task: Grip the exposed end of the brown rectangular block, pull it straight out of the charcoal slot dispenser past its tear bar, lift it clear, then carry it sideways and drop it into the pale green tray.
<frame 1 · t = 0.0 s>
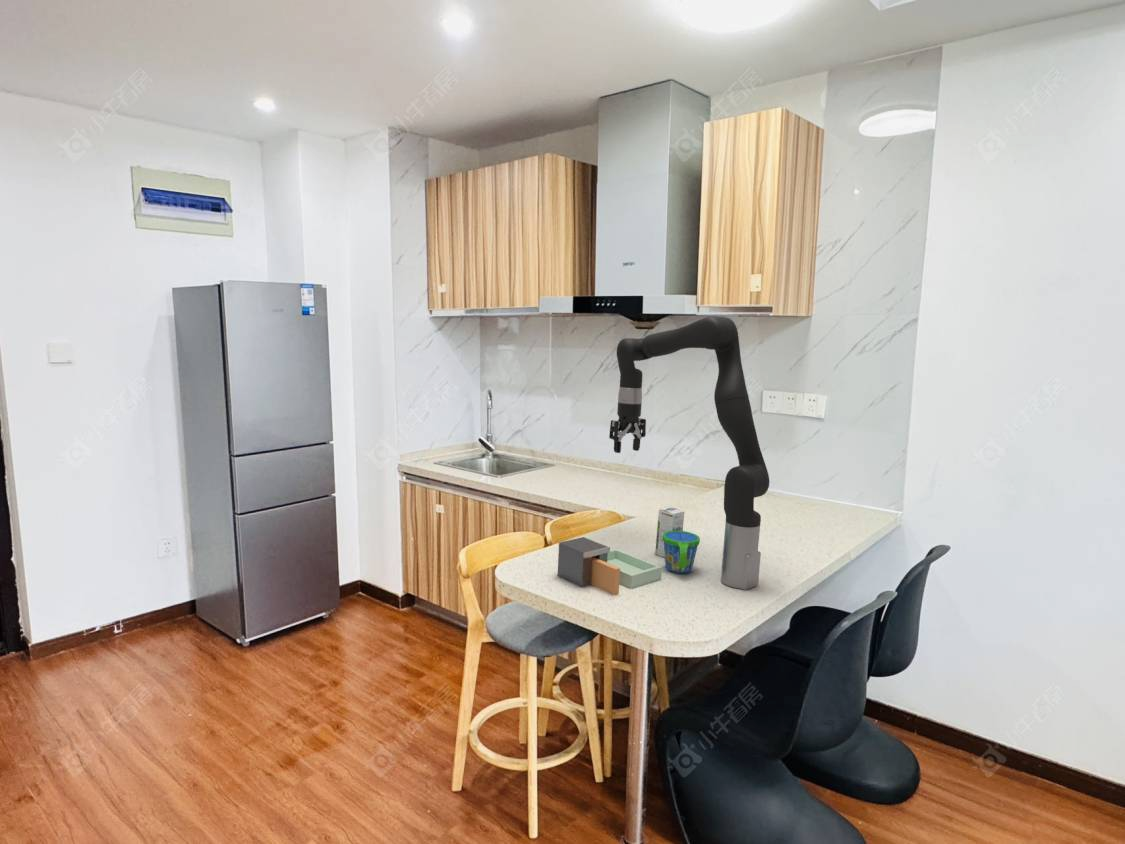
hand: (626, 451, 215), 29 cm above the worktop, fingers open, 8 cm apart
brown rectangular block: (603, 588, 177), on the worktop
dispenser: (581, 577, 183), on the worktop
tray: (622, 573, 188), on the worktop
syrup box: (668, 555, 205), on the worktop
snack cup: (678, 570, 193), on the worktop
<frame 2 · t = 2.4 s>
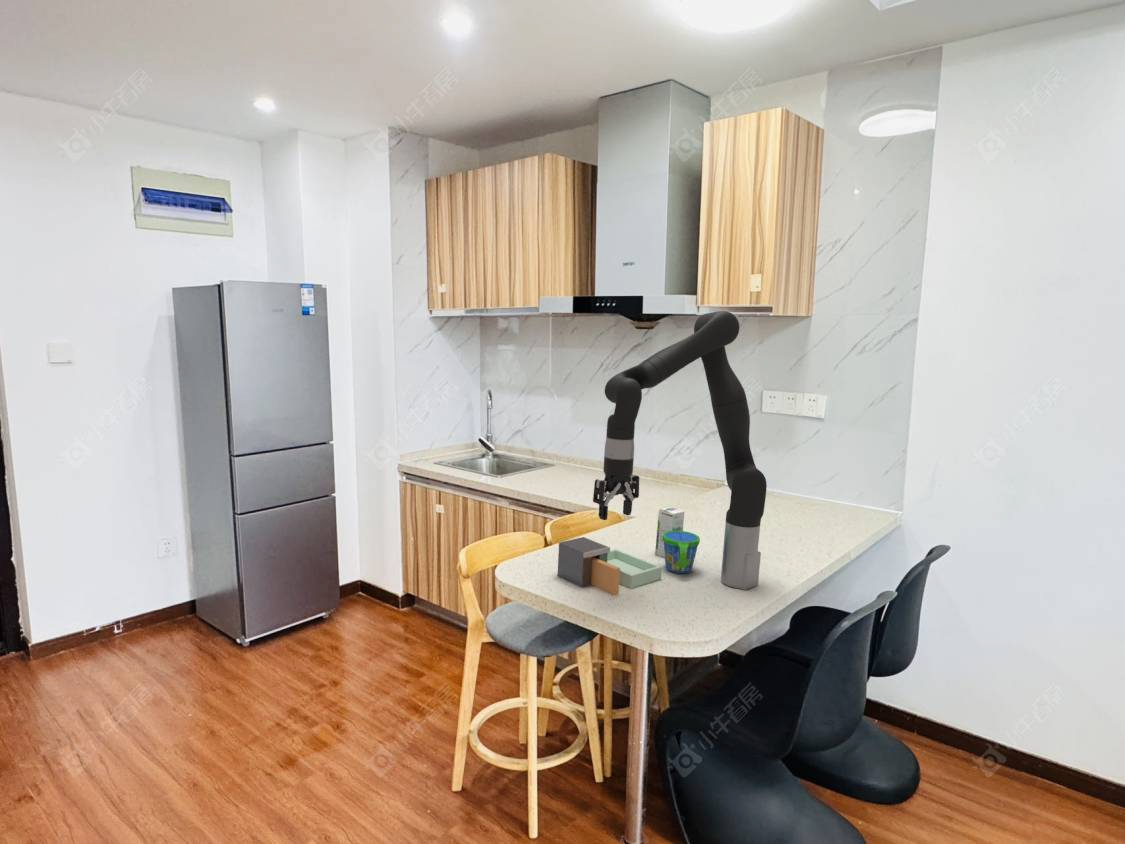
hand: (615, 516, 172), 20 cm above the worktop, fingers open, 8 cm apart
nothing on the worktop moved.
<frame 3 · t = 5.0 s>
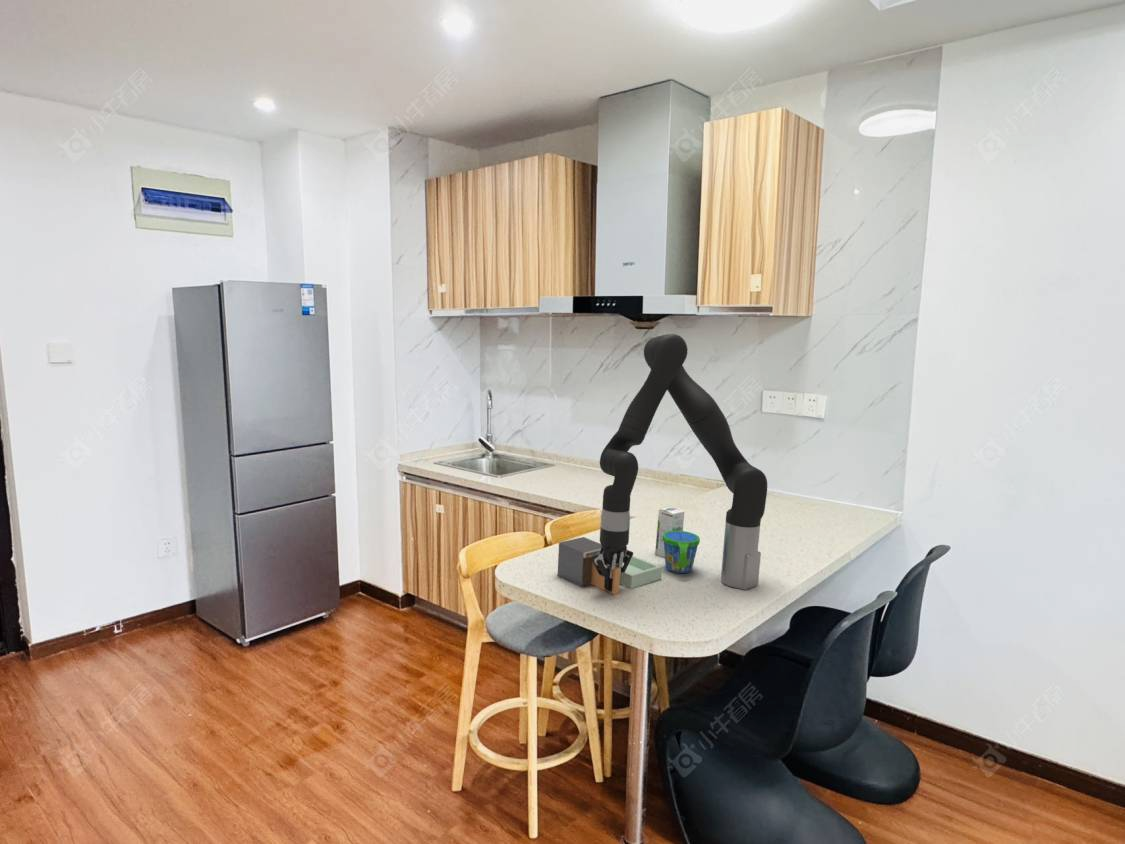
hand: (611, 589, 175), 1 cm above the worktop, fingers closed on brown rectangular block, 1 cm apart
brown rectangular block: (603, 587, 177), on the worktop, touching gripper
everything else where it was.
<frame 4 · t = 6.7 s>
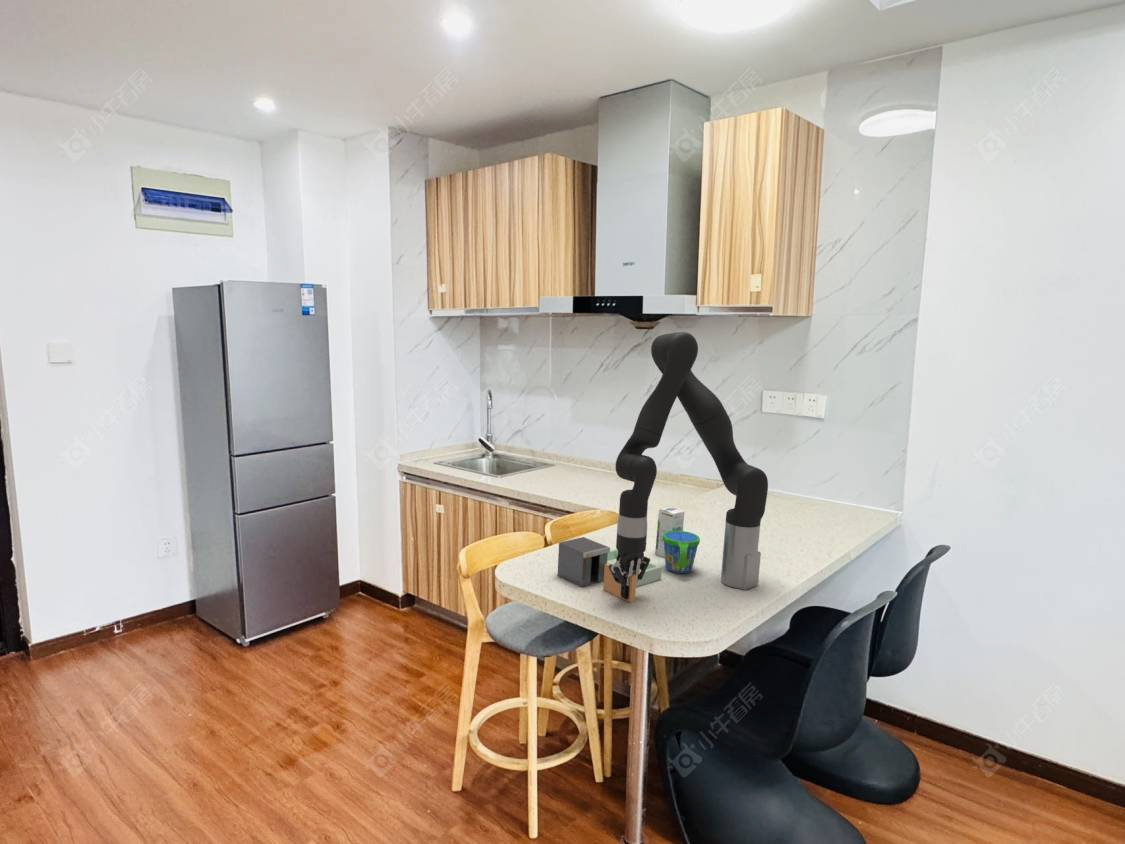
hand: (627, 597, 170), 1 cm above the worktop, fingers closed on brown rectangular block, 1 cm apart
brown rectangular block: (618, 595, 173), on the worktop, touching gripper
everything else where it was.
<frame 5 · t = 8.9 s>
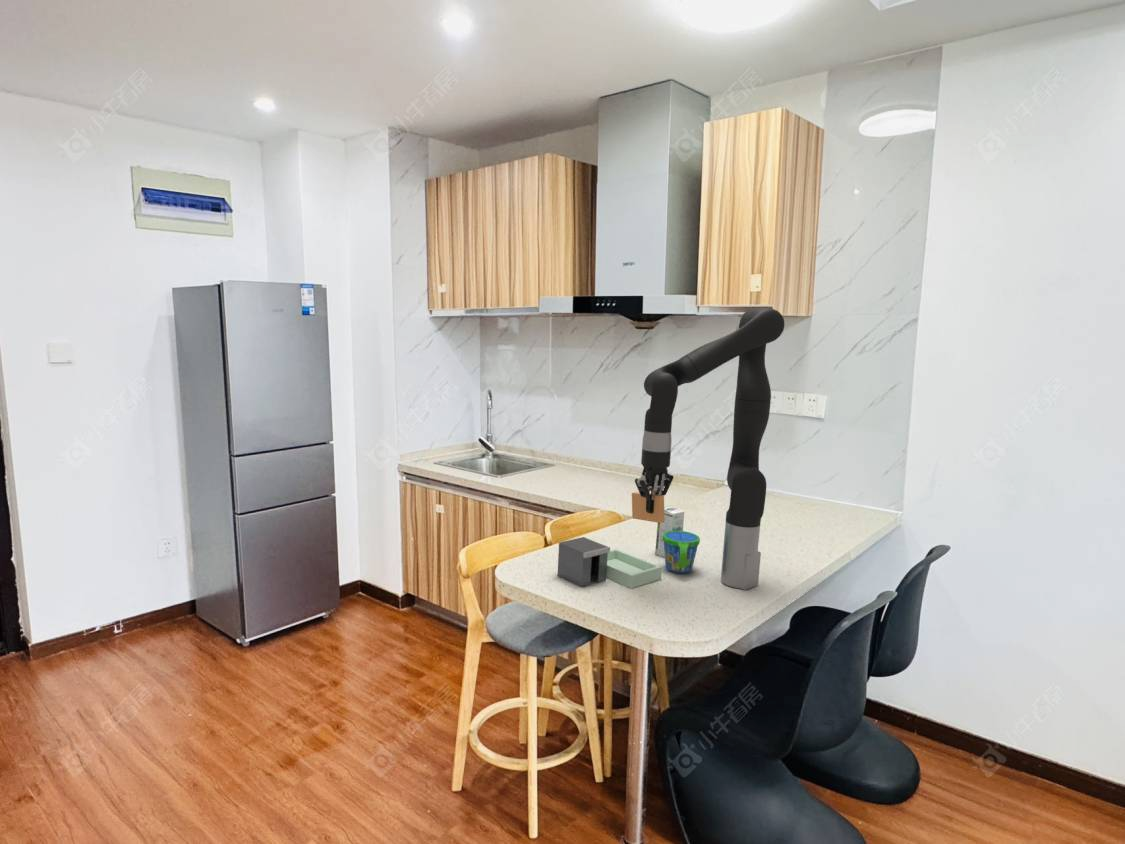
hand: (652, 512, 177), 21 cm above the worktop, fingers closed on brown rectangular block, 1 cm apart
brown rectangular block: (648, 520, 178), point 18 cm above the worktop, tilted 7°, touching gripper
everything else where it was.
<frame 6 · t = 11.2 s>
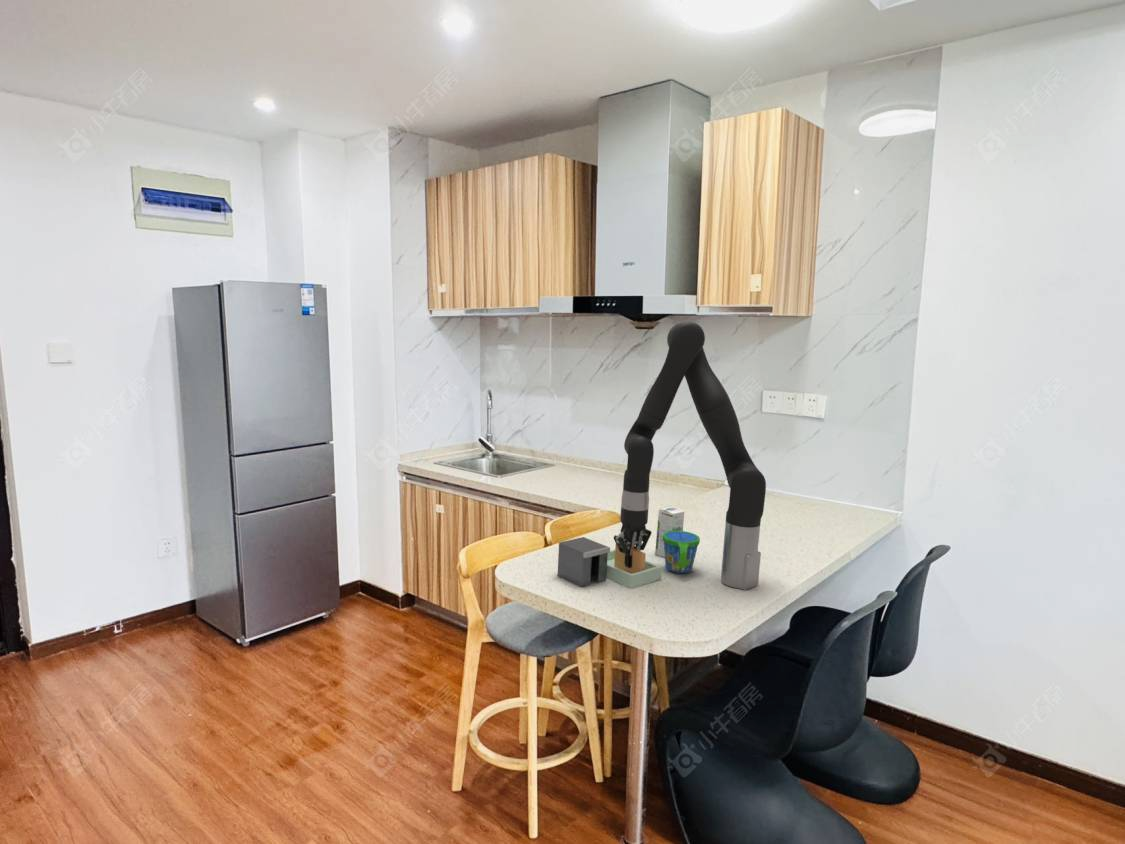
hand: (630, 566, 186), 3 cm above the worktop, fingers closed on brown rectangular block, 1 cm apart
brown rectangular block: (628, 572, 186), point 1 cm above the worktop, touching gripper
everything else where it was.
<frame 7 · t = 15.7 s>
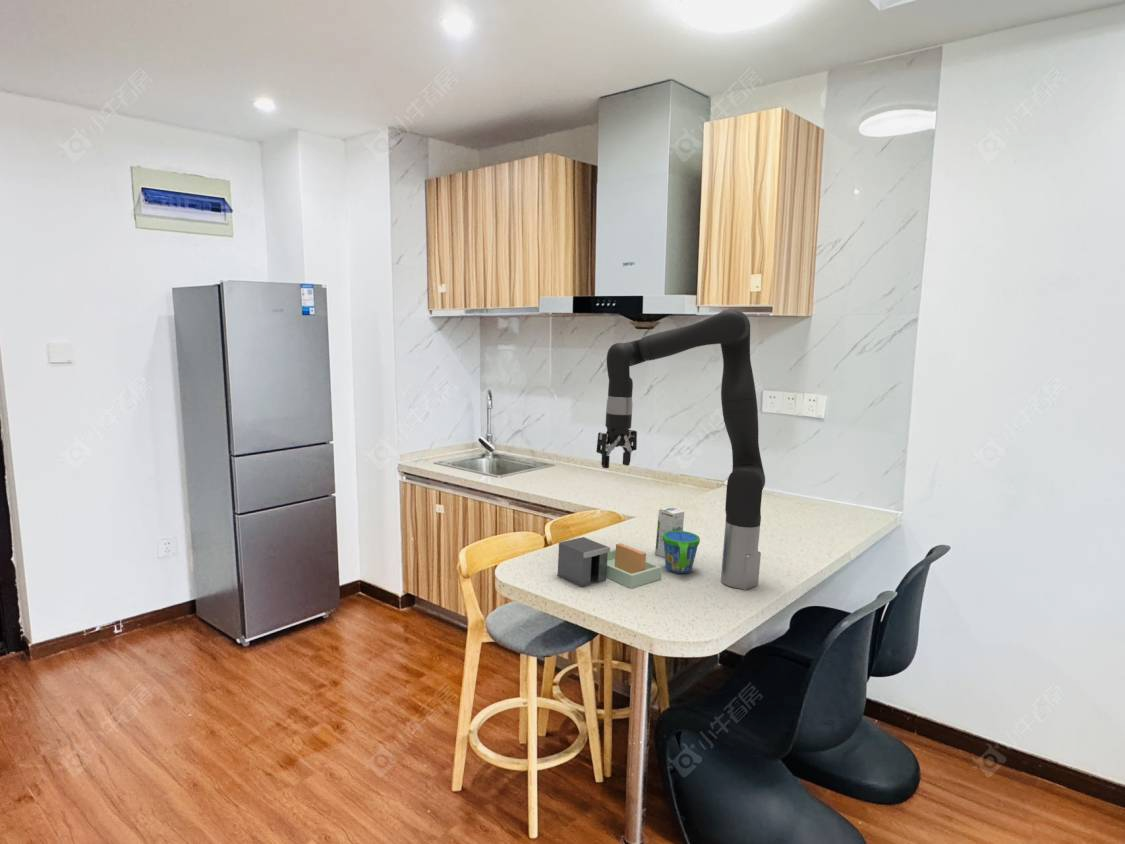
hand: (615, 466, 196), 28 cm above the worktop, fingers open, 8 cm apart
brown rectangular block: (629, 572, 186), point 1 cm above the worktop, touching tray
everything else where it was.
at the end: brown rectangular block inside the target area on the tray (2.5 cm from its centre), point 1.0 cm above the tray's base; brown rectangular block touching tray; the gripper is holding nothing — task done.
